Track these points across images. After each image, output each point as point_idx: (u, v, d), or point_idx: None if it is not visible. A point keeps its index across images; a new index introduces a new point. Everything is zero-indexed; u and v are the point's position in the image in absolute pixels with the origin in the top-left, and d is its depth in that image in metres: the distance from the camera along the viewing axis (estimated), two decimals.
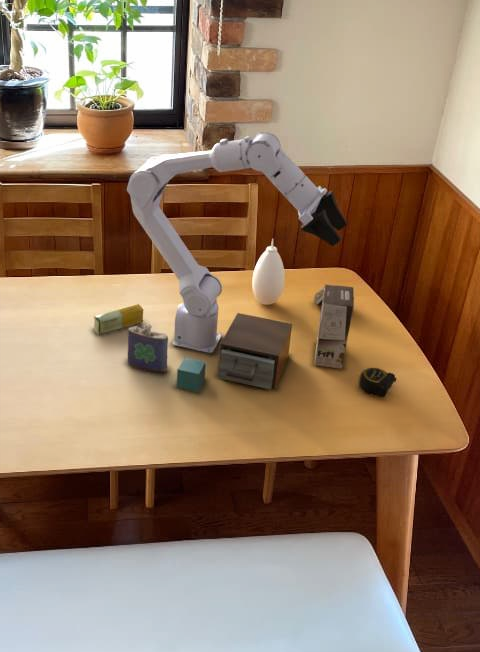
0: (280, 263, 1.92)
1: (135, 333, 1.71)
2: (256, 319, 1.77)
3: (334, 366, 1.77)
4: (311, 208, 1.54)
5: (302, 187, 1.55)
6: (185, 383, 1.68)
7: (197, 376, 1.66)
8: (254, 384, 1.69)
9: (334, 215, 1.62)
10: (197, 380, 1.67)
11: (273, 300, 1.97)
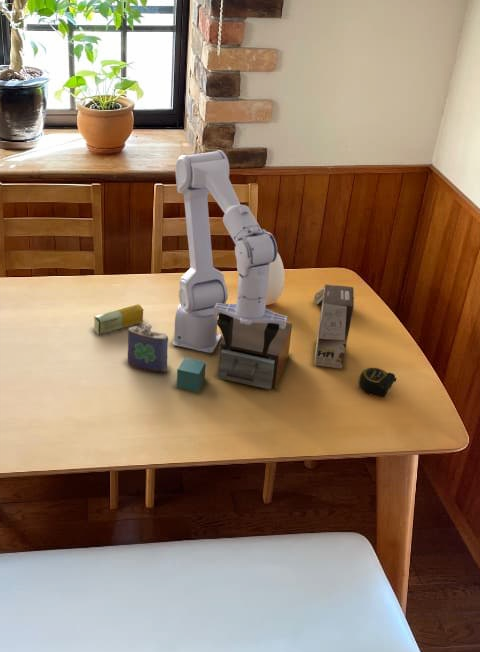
0: (280, 263, 1.92)
1: (135, 333, 1.71)
2: None
3: (334, 366, 1.77)
4: (224, 312, 1.59)
5: (238, 299, 1.56)
6: (185, 383, 1.68)
7: (197, 376, 1.66)
8: (254, 384, 1.69)
9: None
10: (197, 380, 1.67)
11: (273, 300, 1.97)
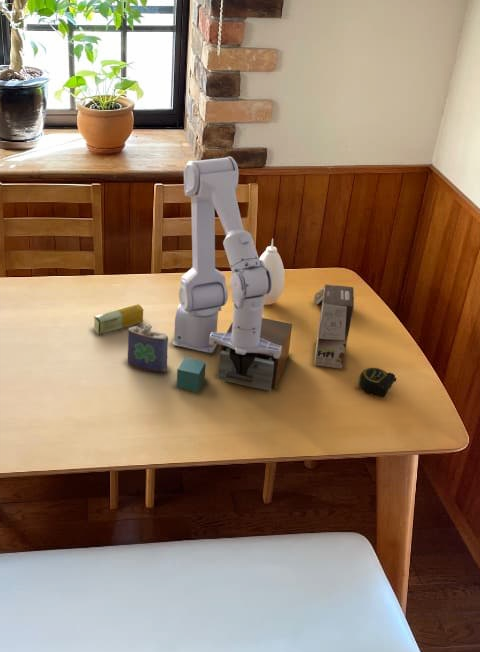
0: (280, 263, 1.92)
1: (135, 333, 1.71)
2: None
3: (334, 366, 1.77)
4: (219, 341, 1.61)
5: (233, 329, 1.58)
6: (185, 383, 1.68)
7: (197, 376, 1.66)
8: (253, 385, 1.69)
9: None
10: (197, 380, 1.67)
11: (273, 300, 1.97)
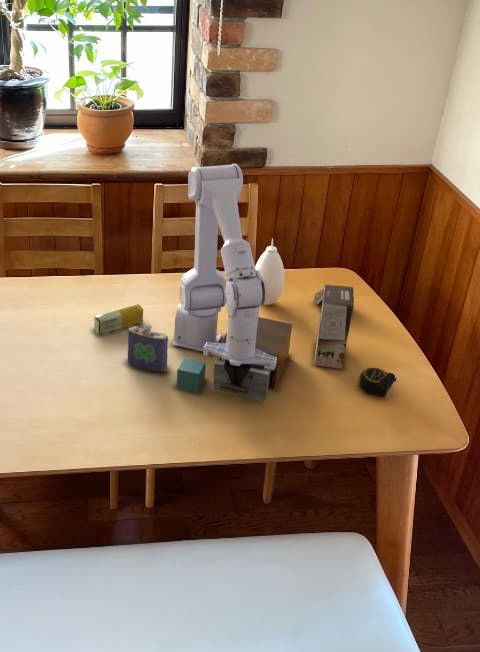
0: (280, 263, 1.92)
1: (135, 333, 1.71)
2: None
3: (334, 366, 1.77)
4: (213, 352, 1.58)
5: (228, 340, 1.55)
6: (185, 383, 1.68)
7: (197, 376, 1.66)
8: (249, 396, 1.66)
9: None
10: (197, 380, 1.67)
11: (273, 300, 1.97)
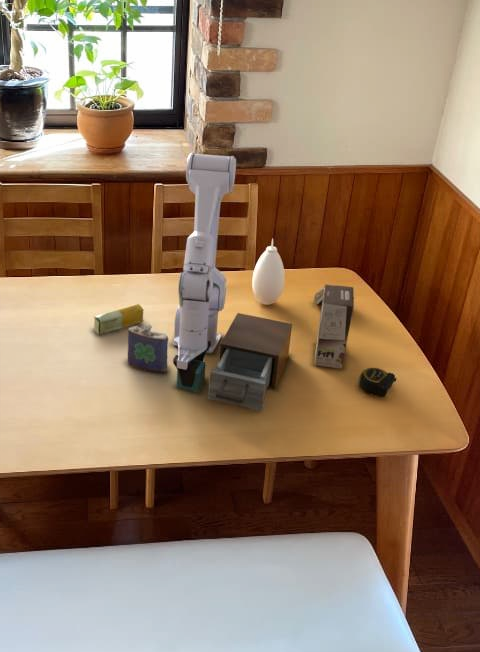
0: (280, 263, 1.92)
1: (135, 333, 1.71)
2: (256, 319, 1.77)
3: (334, 366, 1.77)
4: None
5: None
6: None
7: (197, 376, 1.66)
8: (245, 405, 1.63)
9: None
10: (197, 380, 1.67)
11: (273, 300, 1.97)
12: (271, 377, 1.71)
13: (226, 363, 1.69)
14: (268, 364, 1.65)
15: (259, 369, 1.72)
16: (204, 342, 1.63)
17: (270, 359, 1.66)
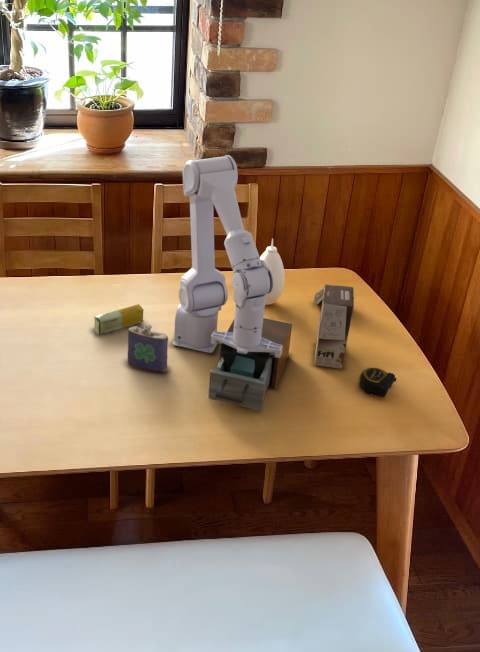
0: (280, 263, 1.92)
1: (135, 333, 1.71)
2: None
3: (334, 366, 1.77)
4: (221, 341, 1.62)
5: (235, 328, 1.59)
6: None
7: None
8: (245, 405, 1.63)
9: None
10: None
11: (273, 300, 1.97)
12: (271, 377, 1.71)
13: None
14: (268, 364, 1.65)
15: None
16: None
17: (270, 359, 1.66)
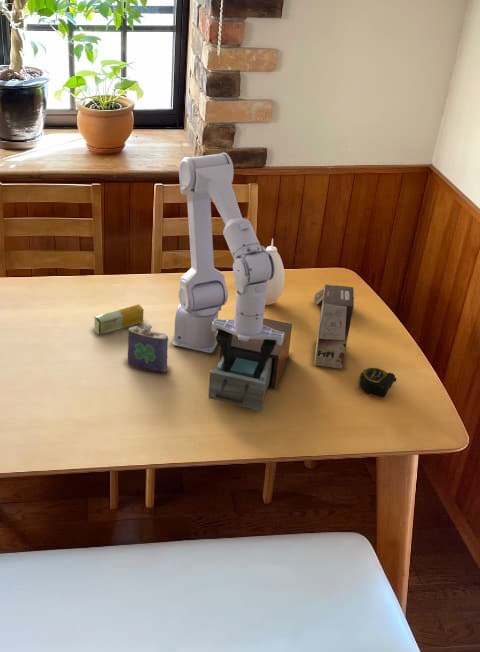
0: (280, 263, 1.92)
1: (135, 333, 1.71)
2: None
3: (334, 366, 1.77)
4: (222, 328, 1.61)
5: (236, 315, 1.58)
6: None
7: None
8: (245, 405, 1.63)
9: None
10: (257, 369, 1.67)
11: (273, 300, 1.97)
12: (271, 377, 1.71)
13: None
14: (268, 364, 1.65)
15: None
16: None
17: (270, 359, 1.66)
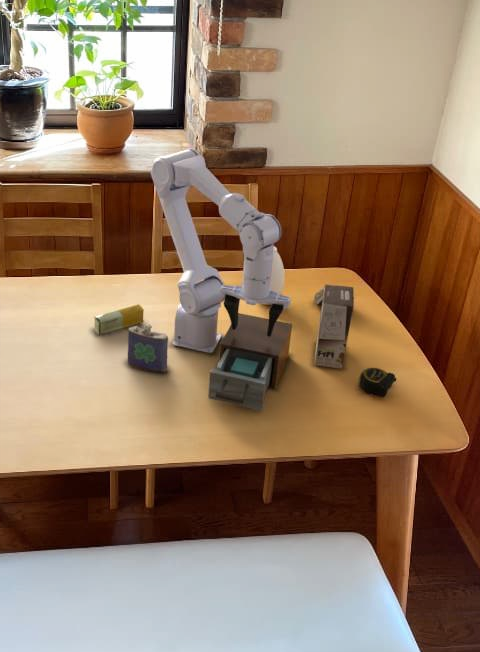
0: (280, 263, 1.92)
1: (135, 333, 1.71)
2: (256, 319, 1.77)
3: (334, 366, 1.77)
4: (230, 293, 1.66)
5: (244, 280, 1.62)
6: None
7: None
8: (245, 405, 1.63)
9: None
10: (257, 369, 1.67)
11: None
12: (271, 377, 1.71)
13: (226, 363, 1.69)
14: (268, 364, 1.65)
15: (259, 369, 1.72)
16: None
17: (270, 359, 1.66)
